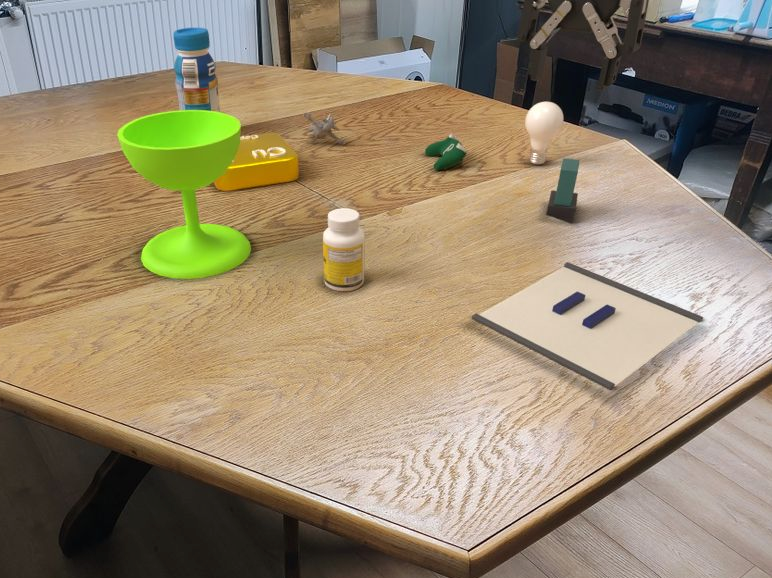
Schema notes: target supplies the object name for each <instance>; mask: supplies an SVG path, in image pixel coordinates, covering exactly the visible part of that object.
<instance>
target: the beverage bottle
mask: <svg viewBox="0 0 772 578" xmlns="http://www.w3.org/2000/svg"><path fill="white" fill-rule="evenodd" d="M209 33H210V32H209V30H208V29H207V28H204V27H183V28H179V29H175V30H174V31H173V36H172V37H173V42H174V43H173V45H174V48H175V50H176V52H178V54H177V56H176V58H175V60H174V66H173V69H174V70H173V71H174V73H175V76H176V78H175V81H174V83H175V89H176V93H177V101H178V109H179V111H180V110H207V111H216V112H221V105H220V96H219V79H218V76H217V74H216V70H217V66H216V63H215V60H214V58H213V57H212V55H211V53H210V52H209V51H208V50H209V49H210V44H211V43H210V42H211V41H210V34H209Z"/></svg>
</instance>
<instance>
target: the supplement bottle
mask: <svg viewBox="0 0 772 578" xmlns="http://www.w3.org/2000/svg"><path fill="white" fill-rule="evenodd" d="M360 216H361V215H360V213H359V212H358V211H357V210H356V209H353V208H347V207H346V208H345V207H344V208H343V207H341V208H336V209H332V210H331V211H329V212H328V214H327V225H328V226H327V228H326V229H325V230H324V231H323V234H322V253H323V254H322V255H323V257H322V258H323V259H322V260H323V282H324V283H325V284H324V285H325V286H326V287H327V288H329V289H331V290H334V291H336V292H351V291H356V290H357V289H359V288H361V287H362V286H363V285H364V283H365V274H366V273H365V272H366V271H365V270H366V269H365V265H366V263H365V262H366V261H365V260H366V259H365V257H366V234H365V231H364V230H363V228H362V227H360V223H361V222H360V219H361V218H360Z"/></svg>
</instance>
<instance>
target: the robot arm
mask: <svg viewBox="0 0 772 578" xmlns="http://www.w3.org/2000/svg"><path fill="white" fill-rule="evenodd" d="M546 2H547V3H548V6H549V8H550V11H551V12H552V15H551V16H550V17H549V18H548V20H546V22H545V23H544V24H543V25H542V26H541V28H540V30H539V31H538V32H537V25H538V21H539V16H540V12H541V11H540V10H541V8H543V7H545V6H546V5H545V4H546ZM649 2H650V0H523V5H522V10H521V16H520V20H519V25H518V31H517V38H516V39H517V40H518V42H520V43H525V44H527V45H528V46H529V47H530V55H529V59H528V60H529V62H528V66H527V67H528V68H527V73H528V75H529V76H530V80H531V81H535V82H538V81H540V80H541V79H543V77H544V74H545V73H544V72H545V67H546V61H547V55H548V49H549V47H548V46H546V45H547V43H548V42H549V41H550V40H551V39H552V38H553V37H554V36H555V34H557V33H558V32H559V31H560V30H562V32H563V33H564V32H567V33H570V32H571V33H572V32H578V33H579V34H582V35H583V34H584V35H589V34H592V33H593V34H594V36H595V39H596V40H597V42H598V43H600V45H601V47H602V49H603V52H604V54H605V57H604V58H603V59H602V62H601V63H602V64H601V68H600V74H599V78H598V84H597V87H596V88H597V91H603V92H604V91H606V90H607V89H609V87H610V86H612V85H613V84H614V83H616V80H617V75H618V72H619V66H620V62H621V58H622V57H623V56H626V55H631V54H633V53H634V52H637V51H638V50H639V49H640V48H641V46H642V41H643V35H644V29H645V24H646V20H647V19H646V18H647V13H648V7H649ZM620 8H622V9H623V15H624V16H625V17H626V18H627V22H626V28H625V34H624V39H623V42H622V39H621V38H620V36H619V33H618V30H619V29H618V27H617V25H616V23H615V21H614V19H613V16H614V15H615V13H616V12H617V11H618V10H619V9H620Z"/></svg>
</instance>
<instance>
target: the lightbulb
mask: <svg viewBox="0 0 772 578" xmlns="http://www.w3.org/2000/svg"><path fill="white" fill-rule="evenodd" d="M564 117H565V116H564V113H563V110H562V108H561V107H560V106H559V105H558V104H556V103H555V102H552V101H540V102H538V103H535V104H534V105H532V107H531V108H529V110H528V111H527V113H526V115H525V119H524V127H525V130H526V133H527V135H528V136H529V141H530V142H529V144H530V148H531V149H530V156H529V162H530V163H531V164H532V165H534V166H539V165H542V164H544V163H546V156H547V152H548V149H549V147H550V145H551V144H552V141H553V139H554V138H555V137H556V136H557V135H558V134H559V133H560V131H561V129H562V128H563V125H564Z"/></svg>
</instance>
